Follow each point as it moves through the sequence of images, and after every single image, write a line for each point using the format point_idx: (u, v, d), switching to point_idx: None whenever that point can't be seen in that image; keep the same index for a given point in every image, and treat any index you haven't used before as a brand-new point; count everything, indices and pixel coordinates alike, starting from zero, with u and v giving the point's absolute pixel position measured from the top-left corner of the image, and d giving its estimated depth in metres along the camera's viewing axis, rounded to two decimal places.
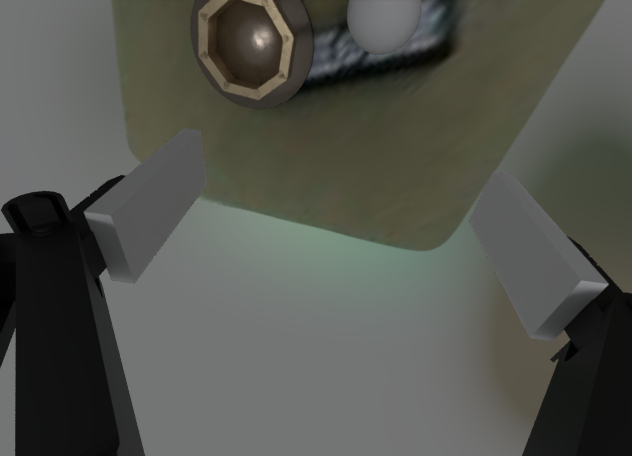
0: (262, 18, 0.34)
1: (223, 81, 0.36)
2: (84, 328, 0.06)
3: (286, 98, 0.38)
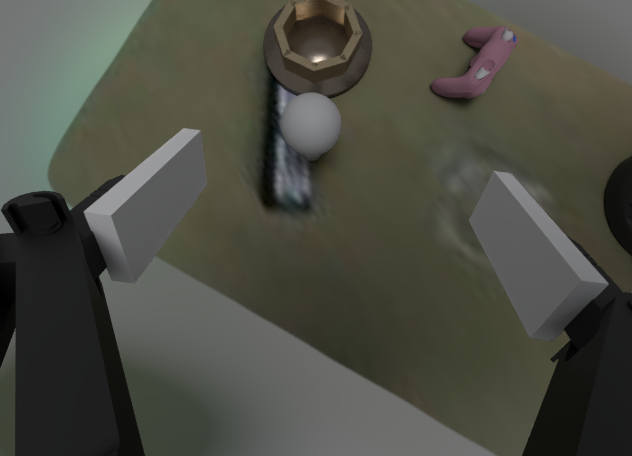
0: None
1: (297, 2, 0.39)
2: (84, 327, 0.06)
3: (267, 59, 0.40)
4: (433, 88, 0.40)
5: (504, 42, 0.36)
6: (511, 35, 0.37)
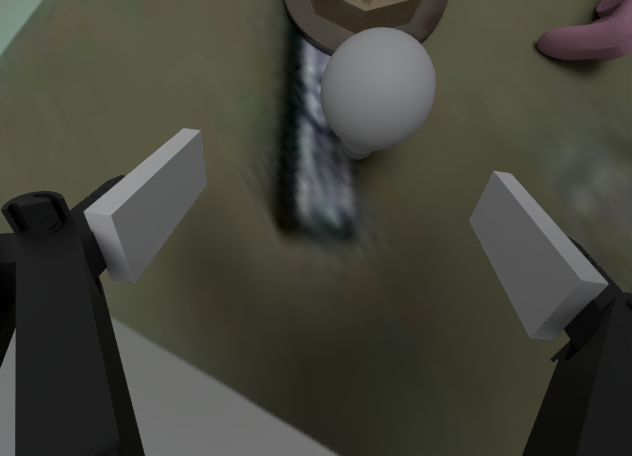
0: None
1: None
2: (84, 327, 0.06)
3: None
4: (543, 45, 0.26)
5: None
6: None
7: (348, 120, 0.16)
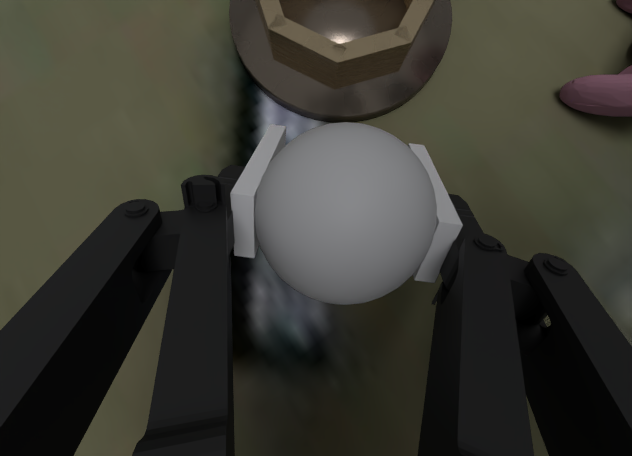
0: None
1: None
2: (218, 300, 0.07)
3: (237, 38, 0.19)
4: (567, 96, 0.20)
5: None
6: None
7: (293, 279, 0.09)
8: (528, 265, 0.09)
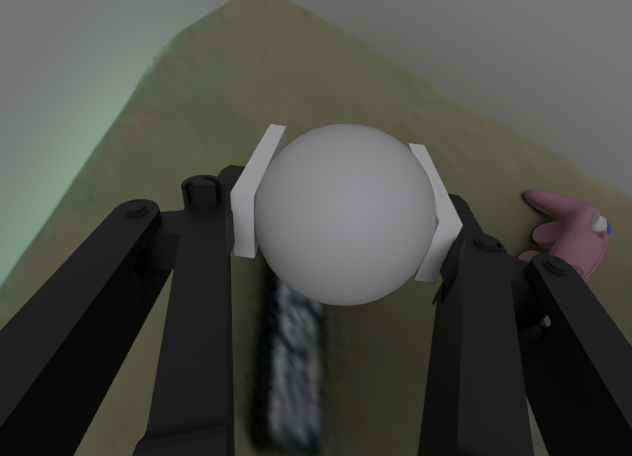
0: None
1: None
2: (218, 300, 0.07)
3: None
4: None
5: (597, 240, 0.24)
6: (605, 225, 0.25)
7: (292, 281, 0.09)
8: (528, 265, 0.09)
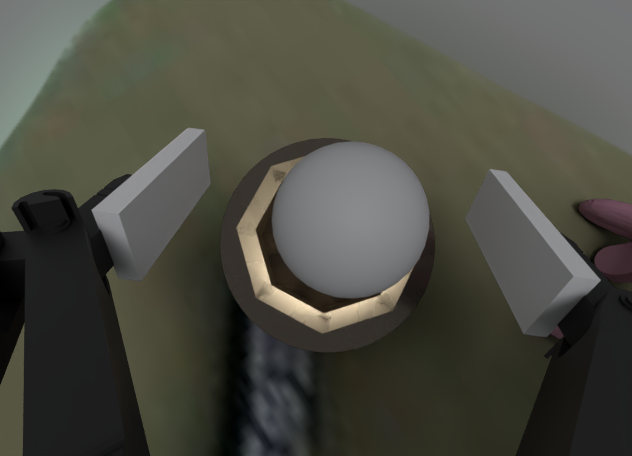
0: None
1: (286, 173, 0.19)
2: (91, 325, 0.06)
3: (227, 272, 0.20)
4: None
5: None
6: None
7: (308, 276, 0.11)
8: None
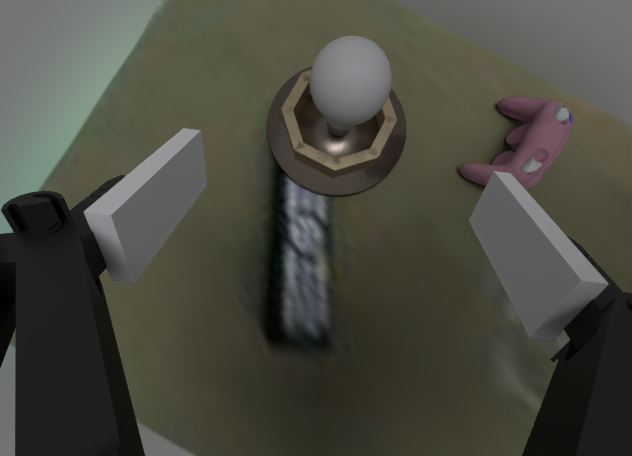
0: (357, 146, 0.31)
1: None
2: (84, 328, 0.06)
3: (272, 146, 0.31)
4: (462, 173, 0.32)
5: (560, 125, 0.27)
6: (567, 114, 0.28)
7: (329, 102, 0.22)
8: None
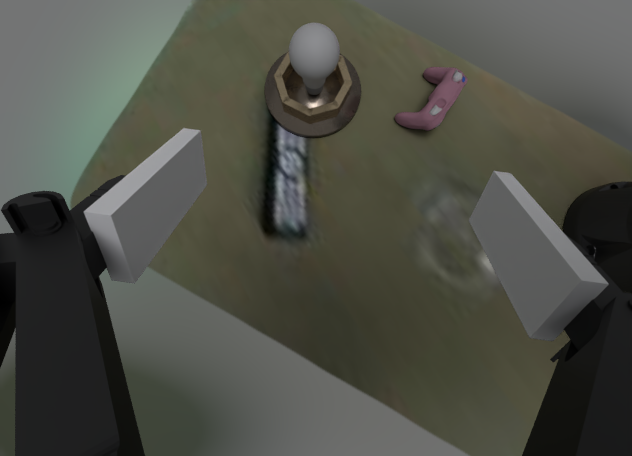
0: (326, 103, 0.46)
1: None
2: (84, 327, 0.06)
3: (268, 102, 0.45)
4: (396, 120, 0.46)
5: (454, 83, 0.41)
6: (461, 76, 0.42)
7: (299, 62, 0.36)
8: None
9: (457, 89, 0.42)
